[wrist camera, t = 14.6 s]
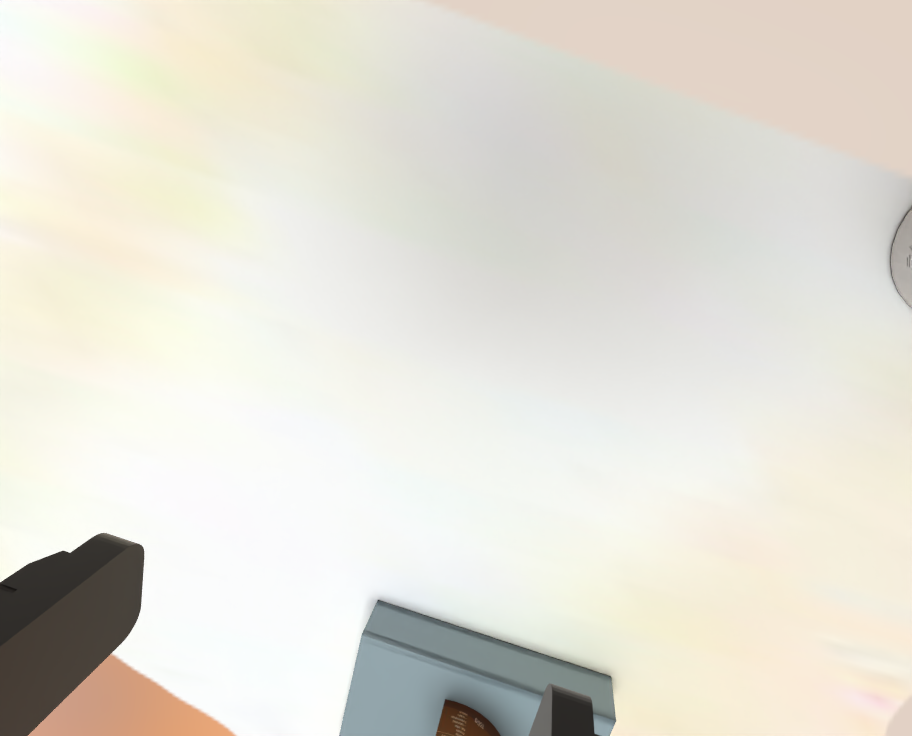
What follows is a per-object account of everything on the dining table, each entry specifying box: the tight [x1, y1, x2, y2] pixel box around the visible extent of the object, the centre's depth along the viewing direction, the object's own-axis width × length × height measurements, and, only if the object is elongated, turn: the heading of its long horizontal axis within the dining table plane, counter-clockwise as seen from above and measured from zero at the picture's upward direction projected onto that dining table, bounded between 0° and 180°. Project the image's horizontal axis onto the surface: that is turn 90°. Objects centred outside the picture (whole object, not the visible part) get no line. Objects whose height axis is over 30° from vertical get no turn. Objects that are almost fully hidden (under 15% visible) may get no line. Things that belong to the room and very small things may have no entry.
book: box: [339, 600, 616, 736], centre depth 46 cm, size 20×15×4 cm
